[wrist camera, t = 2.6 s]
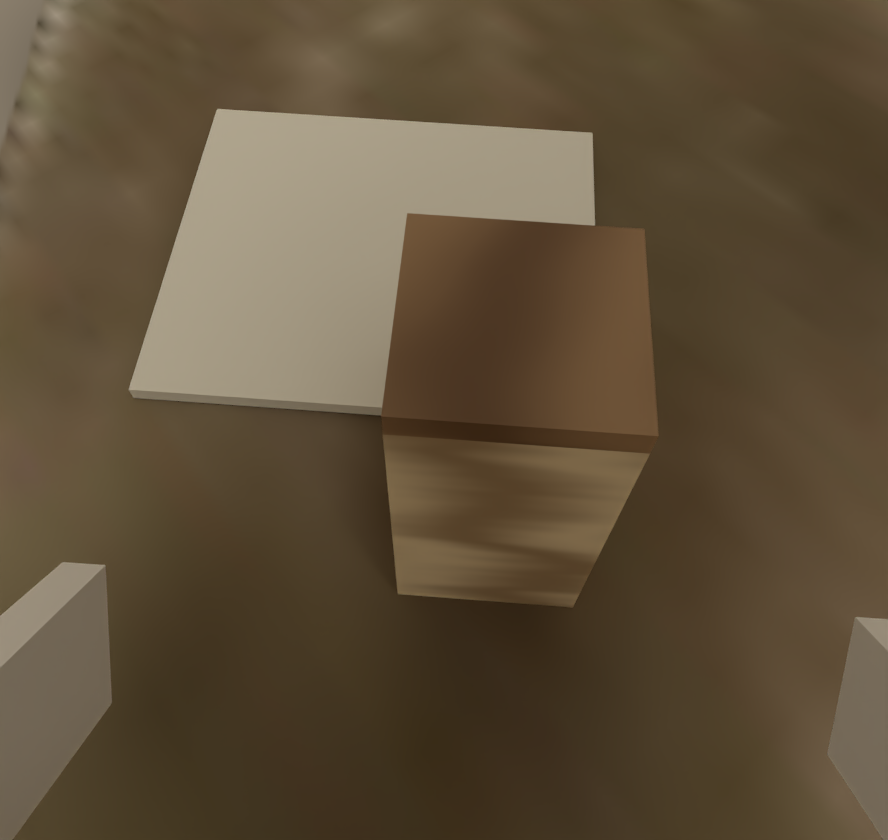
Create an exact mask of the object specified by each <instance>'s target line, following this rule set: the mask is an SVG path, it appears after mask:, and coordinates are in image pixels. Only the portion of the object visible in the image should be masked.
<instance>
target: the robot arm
mask: <svg viewBox="0 0 888 840" xmlns="http://www.w3.org/2000/svg"><path fill="white" fill-rule="evenodd" d="M111 704H112V693H111V672H110V650H109V628H108V606H107V585H106V565H96V564H82V563H67V562H62V563H61V564H60V565H59V566H57V567H56V568H55V569H54V570H53V571H52V572H51V573H49V574H48V575H47V576H46V577H45V578H44V579H42V580H41V581H40V582H39V583H38V584H37V585H35V586H34V587H33V588H32V589H31V590H30V591H28V592H27V593H26V594H25V595H24V596H23V597H22V598H20V599H19V600H18V601H17V602H16V603H15V604H13V605H12V606H11V607H10V608H9V609H8V610H6V611H5V612H4V613H3V614H2V615H1V616H0V840H13V839H14V837H15V836H16V834H17V833H18V832H19V830H20V829H21V828H22V826H23V825H24V823H25V822H26V821H27V819H28V818H29V817H30V815H31V814H32V812H33V811H34V810H35V808H36V807H37V806H38V804H39V803H40V801H41V800H42V799H43V797H44V796H45V795H46V793H47V792H48V790H49V789H50V788H51V786H52V785H53V784H54V782H55V781H56V779H57V778H58V777H59V775H60V774H61V773H62V771H63V770H64V768H65V767H66V766H67V764H68V763H69V762H70V760H71V759H72V757H73V756H74V755H75V753H76V752H77V751H78V749H79V748H80V746H81V745H82V744H83V742H84V741H85V739H86V738H87V737H88V735H89V734H90V733H91V731H92V730H93V728H94V727H95V726H96V724H97V723H98V722H99V720H100V719H101V717H102V716H103V715H104V713H105V712H106V711H107V709H108V708H109V706H110V705H111ZM827 755H828V756H829V758H830V759H831V761H832V763H833V764H834V766H835V767H836V769H837V770H838V772H839V773H840V775H841V776H842V778H843V779H844V781H845V782H846V784H847V785H848V787H849V788H850V790H851V791H852V793H853V795H854V796H855V798H856V799H857V801H858V802H859V804H860V805H861V807H862V808H863V810H864V811H865V813H866V814H867V816H868V817H869V819H870V820H871V822H872V823H873V825H874V827H875V828H876V830H877V831H878V833H879V834H880V836H881V837H882V839H883V840H888V619H877V618H863V617H855V620H854V625H853V630H852V635H851V640H850V645H849V650H848V655H847V660H846V664H845V669H844V674H843V679H842V684H841V689H840V694H839V699H838V704H837V709H836V714H835V718H834V723H833V728H832V733H831V738H830V743H829V748H828V753H827Z"/></svg>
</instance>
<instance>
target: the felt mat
mask: <svg viewBox="0 0 888 840" xmlns="http://www.w3.org/2000/svg"><path fill="white" fill-rule="evenodd" d="M407 213H413V214H428V215H443V216H458V217H473V218H488V219H503V220H518V221H533V222H548V223H563V224H578V225H593V226H595V207H594V171H593V136H592V133H587V132H571V131H555V130H540V129H524V128H508V127H493V126H477V125H461V124H445V123H430V122H414V121H398V120H383V119H367V118H351V117H335V116H320V115H304V114H288V113H273V112H257V111H241V110H225V109H217V111H216V114H215V117H214V120H213V123H212V127H211V130H210V133H209V136H208V139H207V143H206V146H205V149H204V152H203V155H202V158H201V162H200V165H199V168H198V171H197V174H196V177H195V181H194V184H193V187H192V190H191V193H190V196H189V200H188V203H187V206H186V209H185V212H184V215H183V219H182V222H181V225H180V228H179V231H178V235H177V238H176V241H175V244H174V247H173V250H172V254H171V257H170V260H169V263H168V266H167V269H166V273H165V276H164V279H163V282H162V285H161V288H160V292H159V295H158V298H157V301H156V304H155V307H154V311H153V314H152V317H151V320H150V323H149V327H148V330H147V333H146V336H145V339H144V342H143V346H142V349H141V352H140V355H139V358H138V361H137V365H136V368H135V371H134V374H133V377H132V380H131V384H130V387H129V391H130V393H131V395H132V396H133V398H142V399H156V400H170V401H184V402H198V403H212V404H226V405H240V406H254V407H268V408H282V409H296V410H310V411H324V412H338V413H352V414H366V415H381V412H382V405H383V397H384V389H385V381H386V374H387V366H388V358H389V350H390V343H391V335H392V327H393V319H394V311H395V304H396V296H397V288H398V280H399V273H400V265H401V257H402V249H403V242H404V234H405V226H406V218H407Z"/></svg>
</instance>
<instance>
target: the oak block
mask: <svg viewBox="0 0 888 840" xmlns="http://www.w3.org/2000/svg"><path fill="white" fill-rule="evenodd" d="M381 422H382V432H383V443H384V454H385V464H386V475H387V486H388V496H389V507H390V517H391V528H392V539H393V549H394V560H395V571H396V581H397V592H398V594H402V595H416V596H429V597H442V598H455V599H468V600H481V601H495V602H508V603H521V604H534V605H547V606H560V607H573V606H574V604H575V602H576V600H577V598H578V596H579V594H580V592H581V590H582V588H583V586H584V584H585V582H586V580H587V578H588V576H589V574H590V572H591V570H592V568H593V566H594V564H595V562H596V560H597V558H598V556H599V554H600V552H601V550H602V548H603V546H604V544H605V542H606V540H607V538H608V536H609V534H610V532H611V530H612V528H613V526H614V524H615V522H616V520H617V518H618V516H619V514H620V512H621V510H622V508H623V506H624V504H625V502H626V500H627V498H628V496H629V494H630V492H631V490H632V488H633V486H634V484H635V482H636V480H637V478H638V476H639V474H640V473H641V471H642V469H643V467H644V465H645V463H646V461H647V459H648V457H649V455H650V453H651V451H652V449H653V447H654V445H655V443H656V441H657V439H658V437H659V434H658V419H657V404H656V390H655V375H654V361H653V346H652V332H651V317H650V303H649V288H648V274H647V259H646V245H645V230H644V229H638V228H623V227H608V226H593V225H578V224H563V223H548V222H533V221H518V220H503V219H488V218H473V217H458V216H443V215H428V214H413V213H407V218H406V226H405V234H404V242H403V249H402V257H401V265H400V273H399V280H398V288H397V296H396V304H395V311H394V319H393V327H392V335H391V343H390V350H389V358H388V366H387V374H386V381H385V389H384V397H383V405H382V412H381Z"/></svg>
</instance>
